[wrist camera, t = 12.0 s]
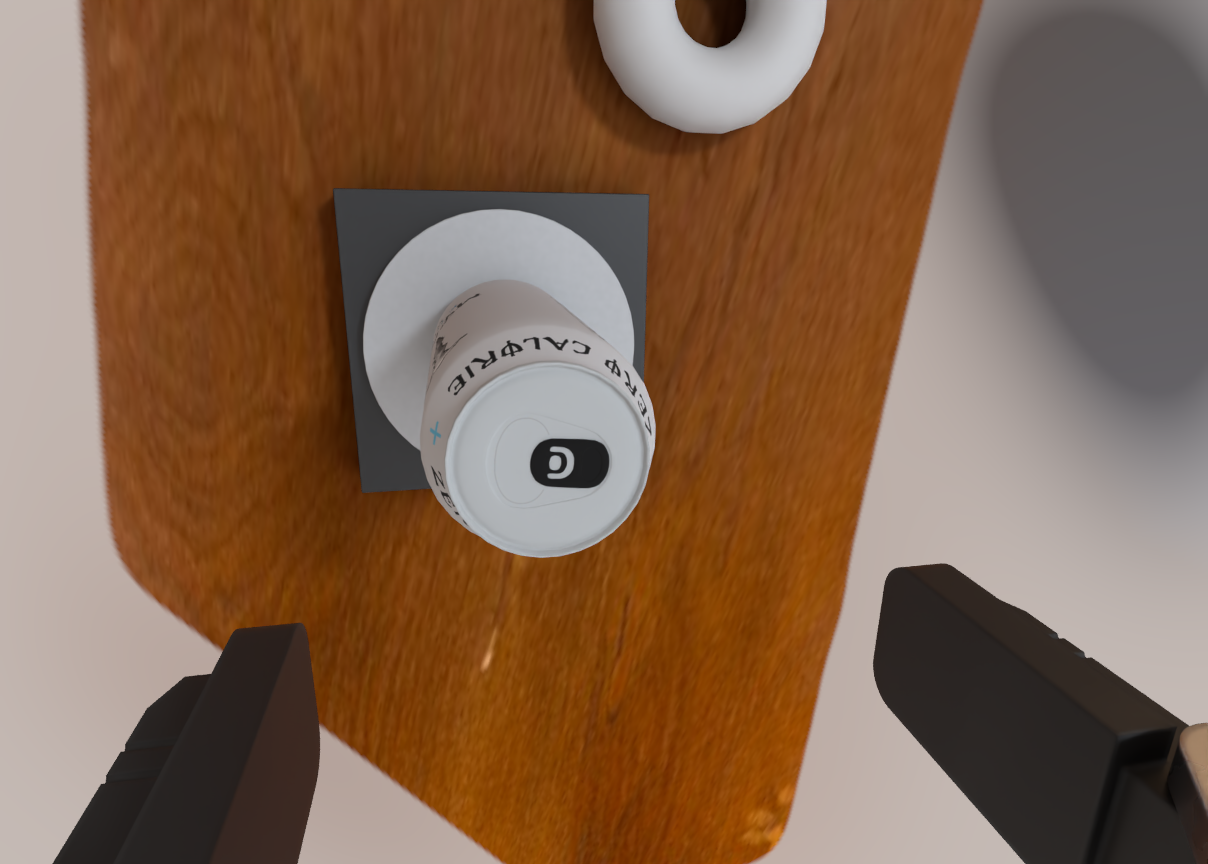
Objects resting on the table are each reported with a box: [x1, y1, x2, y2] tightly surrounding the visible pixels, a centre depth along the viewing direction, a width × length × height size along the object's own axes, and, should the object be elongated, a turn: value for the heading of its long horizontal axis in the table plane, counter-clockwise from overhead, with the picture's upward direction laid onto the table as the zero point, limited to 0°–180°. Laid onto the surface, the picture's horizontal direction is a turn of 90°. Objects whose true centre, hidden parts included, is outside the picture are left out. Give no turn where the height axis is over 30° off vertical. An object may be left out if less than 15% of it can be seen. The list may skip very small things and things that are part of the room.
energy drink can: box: [420, 280, 655, 558], centre depth 23 cm, size 6×6×15 cm
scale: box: [333, 188, 649, 493], centre depth 32 cm, size 13×13×3 cm
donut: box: [593, 0, 827, 134], centre depth 29 cm, size 10×3×10 cm
